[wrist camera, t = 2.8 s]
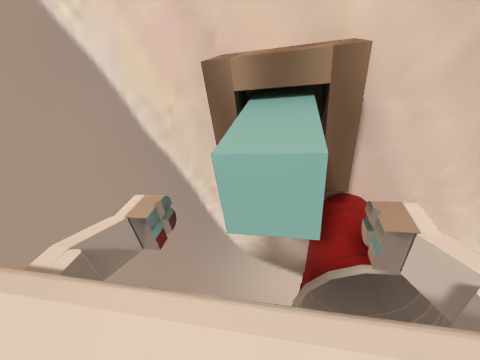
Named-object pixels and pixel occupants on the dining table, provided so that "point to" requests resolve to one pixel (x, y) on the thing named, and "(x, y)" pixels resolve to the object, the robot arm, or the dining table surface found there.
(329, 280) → the plastic cup
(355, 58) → the pocket block
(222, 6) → the dining table surface
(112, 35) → the dining table surface
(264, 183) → the teal peg
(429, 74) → the dining table surface
